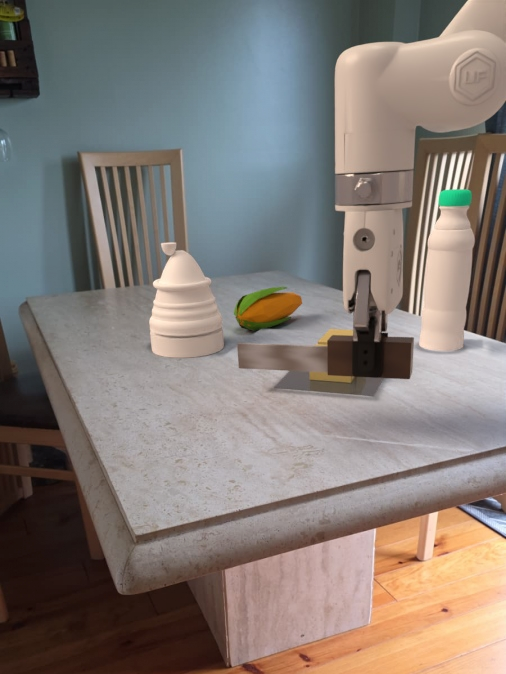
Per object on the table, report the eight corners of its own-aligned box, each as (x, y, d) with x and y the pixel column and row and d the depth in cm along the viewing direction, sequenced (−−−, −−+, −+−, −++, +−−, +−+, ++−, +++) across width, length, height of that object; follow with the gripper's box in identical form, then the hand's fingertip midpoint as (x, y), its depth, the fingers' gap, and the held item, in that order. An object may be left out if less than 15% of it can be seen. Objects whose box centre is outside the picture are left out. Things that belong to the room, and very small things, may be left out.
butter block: (366, 358, 98) (368, 330, 96) (357, 373, 91) (358, 343, 89) (329, 356, 100) (330, 328, 98) (317, 370, 93) (317, 341, 91)
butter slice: (355, 376, 90) (356, 346, 88) (350, 383, 87) (352, 352, 85) (314, 373, 92) (315, 344, 90) (309, 379, 89) (309, 349, 87)
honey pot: (161, 361, 104) (150, 249, 96) (144, 343, 115) (133, 241, 107) (234, 351, 108) (229, 243, 100) (211, 335, 119) (205, 236, 111)
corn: (223, 292, 117) (285, 276, 131) (223, 331, 121) (284, 312, 135) (253, 298, 113) (314, 282, 127) (252, 339, 117) (312, 318, 131)
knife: (412, 372, 69) (414, 337, 67) (409, 379, 66) (411, 342, 65) (242, 365, 75) (240, 332, 73) (235, 370, 73) (233, 337, 71)
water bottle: (439, 343, 109) (454, 188, 99) (471, 351, 103) (490, 188, 93) (409, 349, 106) (421, 190, 95) (441, 358, 100) (457, 190, 90)
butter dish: (394, 361, 100) (395, 355, 99) (373, 403, 83) (374, 396, 82) (309, 355, 104) (310, 350, 104) (273, 394, 87) (273, 387, 87)
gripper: (401, 196, 53) (393, 398, 61) (420, 187, 67) (412, 353, 74) (316, 199, 56) (319, 394, 63) (351, 190, 69) (350, 351, 77)
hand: (369, 370), depth 69 cm, fingers closed on knife, 2 cm apart
